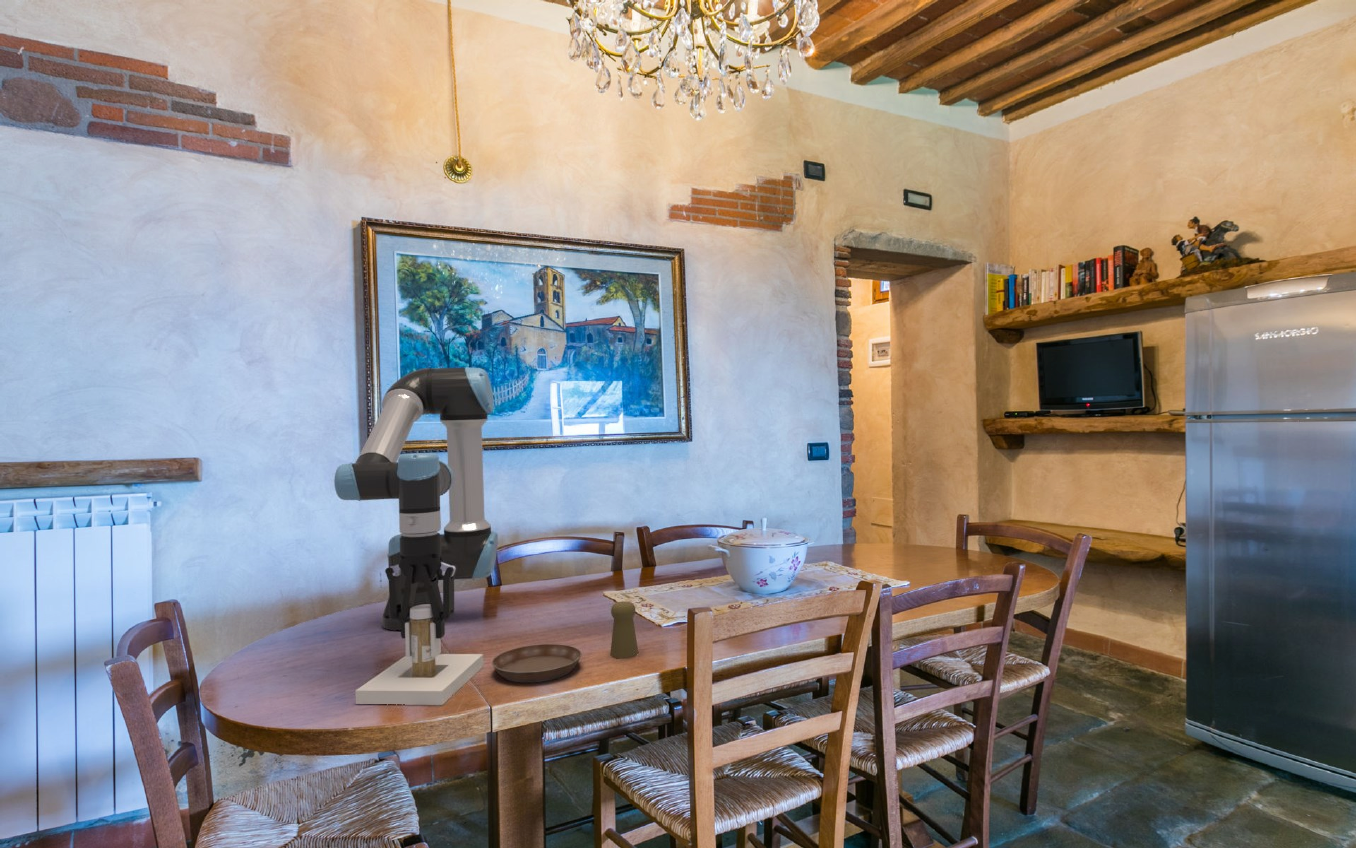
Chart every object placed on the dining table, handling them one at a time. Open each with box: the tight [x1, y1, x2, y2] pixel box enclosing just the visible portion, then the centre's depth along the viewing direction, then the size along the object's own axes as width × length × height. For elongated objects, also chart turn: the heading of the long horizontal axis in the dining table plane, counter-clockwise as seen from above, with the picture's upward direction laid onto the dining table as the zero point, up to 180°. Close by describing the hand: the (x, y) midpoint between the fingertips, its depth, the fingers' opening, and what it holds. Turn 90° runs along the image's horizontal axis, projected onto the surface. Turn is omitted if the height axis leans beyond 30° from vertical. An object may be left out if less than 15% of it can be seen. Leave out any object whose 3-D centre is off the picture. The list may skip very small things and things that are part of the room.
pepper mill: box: [609, 600, 639, 660], centre depth 149 cm, size 6×6×11 cm
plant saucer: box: [491, 643, 583, 684], centre depth 140 cm, size 18×18×3 cm
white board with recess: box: [355, 653, 484, 706], centre depth 134 cm, size 20×16×2 cm
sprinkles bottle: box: [410, 604, 436, 678], centre depth 134 cm, size 5×5×13 cm
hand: (423, 654), depth 134 cm, fingers closed on sprinkles bottle, 4 cm apart
